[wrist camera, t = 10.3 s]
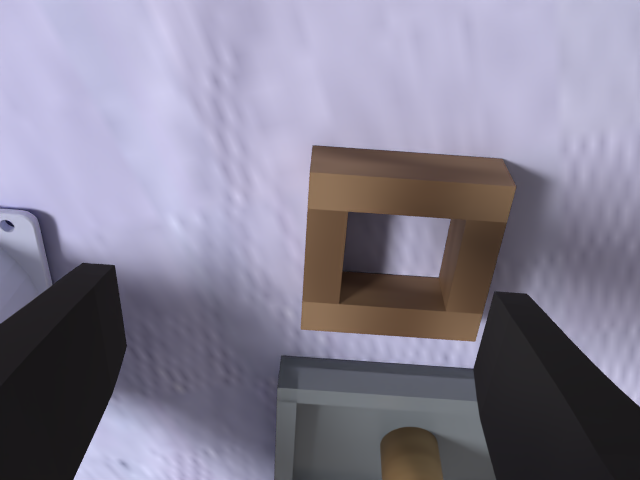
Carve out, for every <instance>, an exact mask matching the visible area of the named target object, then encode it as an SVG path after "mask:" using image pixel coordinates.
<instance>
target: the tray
mask: <svg viewBox="0 0 640 480" xmlns="http://www.w3.org/2000/svg"><path fill="white" fill-rule="evenodd" d="M402 427H418V428H422V429H425V430H427V431H429V432H430V433H432V434H433V435H434V436H435V438H436V439H437V442H438V449H439V455H440V461H441V468H442V474H443V480H496V477H495V474H494V470H493V466H492V463H491V459H490V455H489V452H488V448H487V444H486V440H485V437H484V433H483V429H482V425H481V421H480V417H479V410H478V403H477V397H476V388H475V380H474V372H473V369H463V368H449V367H434V366H420V365H405V364H391V363H376V362H362V361H347V360H332V359H318V358H303V357H289V356H281V363H280V371H279V379H278V387H277V414H276V445H275V476H274V480H382V470H381V454H380V443H381V441H382V439H383V437H384V436H385V435H386V434H388V433H389V432H391V431H393V430H395V429H398V428H402Z"/></svg>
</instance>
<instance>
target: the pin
mask: <svg viewBox="0 0 640 480" xmlns="http://www.w3.org/2000/svg"><path fill="white" fill-rule="evenodd" d="M380 454H381V470H382V480H443V474H442V468H441V461H440V455H439V449H438V442H437V439H436V438H435V436H434V435H433V434H432V433H430V432H429V431H427V430H425V429H422V428H418V427H402V428H398V429H395V430H393V431H391V432H389V433H388V434H386V435H385V436H384V437H383V439H382V441H381V443H380Z"/></svg>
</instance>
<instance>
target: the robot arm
mask: <svg viewBox="0 0 640 480" xmlns="http://www.w3.org/2000/svg"><path fill="white" fill-rule="evenodd" d="M5 220H8V221H10V222H12V223H13V225H14V227H13V226H10V225H8V224H7V223H6V221H5ZM126 347H127V344H126V337H125V331H124V324H123V317H122V310H121V304H120V297H119V290H118V284H117V277H116V270H115V265H105V264H90V263H82V264H81V265H79V266H78V267H76V268H75V269H73V270H72V271H71V272H69V273H68V274H67V275H65V276H64V277H62V278H61V279H60V280H59V281H57V282H56V283H55V284H53V285H52V280H51V276H50V271H49V266H48V262H47V257H46V253H45V248H44V244H43V239H42V235H41V230H40V226H39V222H38V220H37V218H36V217H35V216H34V215H33V214H31V213H30V212H28V211H24V210H12V209H0V480H73V479H74V477H75V475H76V473H77V470H78V468H79V466H80V464H81V462H82V460H83V457H84V455H85V453H86V451H87V449H88V447H89V444H90V442H91V440H92V438H93V436H94V433H95V431H96V429H97V427H98V425H99V422H100V420H101V418H102V416H103V414H104V411H105V409H106V407H107V405H108V402H109V400H110V398H111V396H112V393H113V390H114V387H115V384H116V381H117V378H118V375H119V371H120V368H121V365H122V361H123V358H124V354H125V351H126ZM473 372H474V380H475V388H476V397H477V403H478V410H479V417H480V421H481V425H482V429H483V433H484V437H485V440H486V444H487V448H488V452H489V455H490V459H491V463H492V466H493V470H494V474H495V477H496V480H640V407H639V406H638V405H637V404H636V403H635V402H634V401H632V400H631V399H630V398H629V397H628V396H627V395H626V394H625V393H624V392H623V391H621V390H620V389H619V388H618V387H617V386H616V385H615V384H614V383H613V382H612V381H611V380H610V379H609V378H608V377H607V376H606V375H605V374H604V373H603V372H602V371H601V370H600V369H599V368H598V367H597V366H596V365H595V364H594V363H593V362H592V361H591V360H590V359H589V358H588V357H587V356H586V355H585V354H584V353H583V352H582V351H581V350H580V349H579V348H578V347H577V346H576V345H575V344H574V343H573V342H572V341H571V340H570V339H569V338H568V337H567V336H566V334H565V333H564V332H563V331H562V330H561V329H560V328H559V327H558V326H557V325H556V324H555V323H554V322H553V321H552V320H551V318H550V317H549V316H548V315H547V314H546V313H545V312H544V311H543V310H542V309H541V308H540V307H539V306H538V305H537V304H536V303H535V302H534V300H533V299H532V298H531V297H530V296H529V295H527V294H523V293H508V292H494V296H493V299H492V303H491V307H490V310H489V314H488V318H487V321H486V325H485V329H484V332H483V336H482V340H481V343H480V347H479V351H478V354H477V358H476V362H475V365H474V369H473Z"/></svg>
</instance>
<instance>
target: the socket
mask: <svg viewBox="0 0 640 480" xmlns="http://www.w3.org/2000/svg"><path fill="white" fill-rule="evenodd" d="M515 190H516V185H515V183H514V181H513V179H512V177H511V175H510V173H509V171H508V169H507V167H506V165H505V163H504V161H503V159H497V158H483V157H468V156H454V155H440V154H426V153H411V152H397V151H383V150H369V149H355V148H340V147H326V146H313V147H312V156H311V166H310V177H309V195H308V212H307V229H306V247H305V264H304V282H303V299H302V317H301V330H315V331H330V332H344V333H359V334H373V335H388V336H402V337H417V338H431V339H446V340H460V341H476V337H477V333H478V329H479V326H480V322H481V318H482V314H483V311H484V307H485V303H486V299H487V296H488V292H489V288H490V284H491V280H492V277H493V273H494V269H495V265H496V262H497V258H498V254H499V250H500V247H501V243H502V239H503V235H504V231H505V228H506V224H507V220H508V216H509V213H510V209H511V205H512V201H513V198H514V194H515ZM348 212H362V213H376V214H391V215H405V216H419V217H434V218H448V219H451V221H450V226H449V231H448V236H447V240H446V245H445V250H444V255H443V260H442V265H441V269H440V274H439V278H431V277H416V276H402V275H388V274H373V273H359V272H344V271H342V269H343V259H344V249H345V239H346V229H347V219H348Z"/></svg>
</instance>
